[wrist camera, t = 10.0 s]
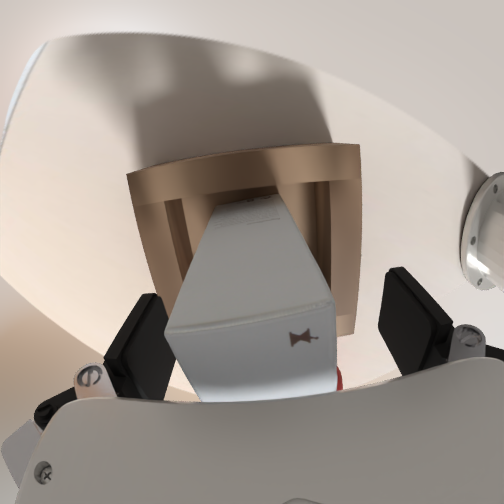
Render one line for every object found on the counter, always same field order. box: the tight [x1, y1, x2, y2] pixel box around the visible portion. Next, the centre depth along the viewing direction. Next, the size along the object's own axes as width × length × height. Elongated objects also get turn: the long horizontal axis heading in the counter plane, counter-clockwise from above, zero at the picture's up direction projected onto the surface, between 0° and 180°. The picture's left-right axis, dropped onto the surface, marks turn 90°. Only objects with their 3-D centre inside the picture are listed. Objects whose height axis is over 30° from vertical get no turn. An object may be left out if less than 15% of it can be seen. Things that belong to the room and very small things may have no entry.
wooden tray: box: [126, 143, 362, 337], centre depth 17 cm, size 12×12×4 cm
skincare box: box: [164, 194, 338, 402], centre depth 12 cm, size 6×4×12 cm
